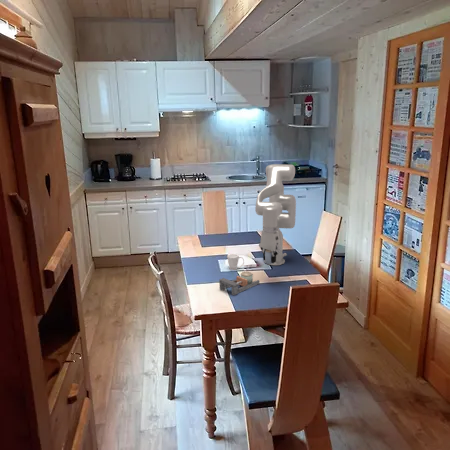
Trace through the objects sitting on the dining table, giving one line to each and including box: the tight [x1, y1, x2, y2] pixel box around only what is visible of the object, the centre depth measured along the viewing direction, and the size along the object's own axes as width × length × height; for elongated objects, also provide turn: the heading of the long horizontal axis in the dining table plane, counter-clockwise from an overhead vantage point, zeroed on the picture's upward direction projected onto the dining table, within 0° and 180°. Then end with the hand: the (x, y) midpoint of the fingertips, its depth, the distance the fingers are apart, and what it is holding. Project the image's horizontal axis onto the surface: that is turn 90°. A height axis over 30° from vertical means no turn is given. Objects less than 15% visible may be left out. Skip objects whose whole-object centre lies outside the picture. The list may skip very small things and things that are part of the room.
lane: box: [219, 277, 260, 296], centre depth 224 cm, size 20×11×6 cm, turn 134°
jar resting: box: [240, 271, 254, 284], centre depth 227 cm, size 6×6×6 cm
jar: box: [264, 249, 273, 265], centre depth 224 cm, size 5×5×7 cm
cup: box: [226, 253, 245, 271], centre depth 249 cm, size 7×10×8 cm
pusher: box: [228, 275, 247, 289], centre depth 222 cm, size 10×7×4 cm
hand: (269, 260), depth 225 cm, fingers closed on jar, 5 cm apart
